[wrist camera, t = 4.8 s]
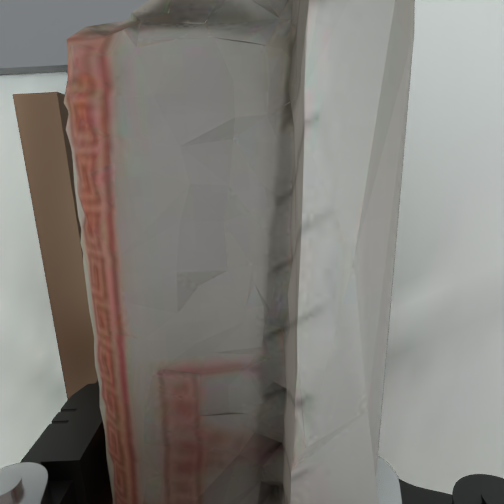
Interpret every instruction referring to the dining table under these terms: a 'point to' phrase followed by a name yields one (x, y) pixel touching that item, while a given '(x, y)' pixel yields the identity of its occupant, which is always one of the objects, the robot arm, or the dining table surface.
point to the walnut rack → (58, 230)
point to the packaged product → (241, 241)
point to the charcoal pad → (50, 30)
